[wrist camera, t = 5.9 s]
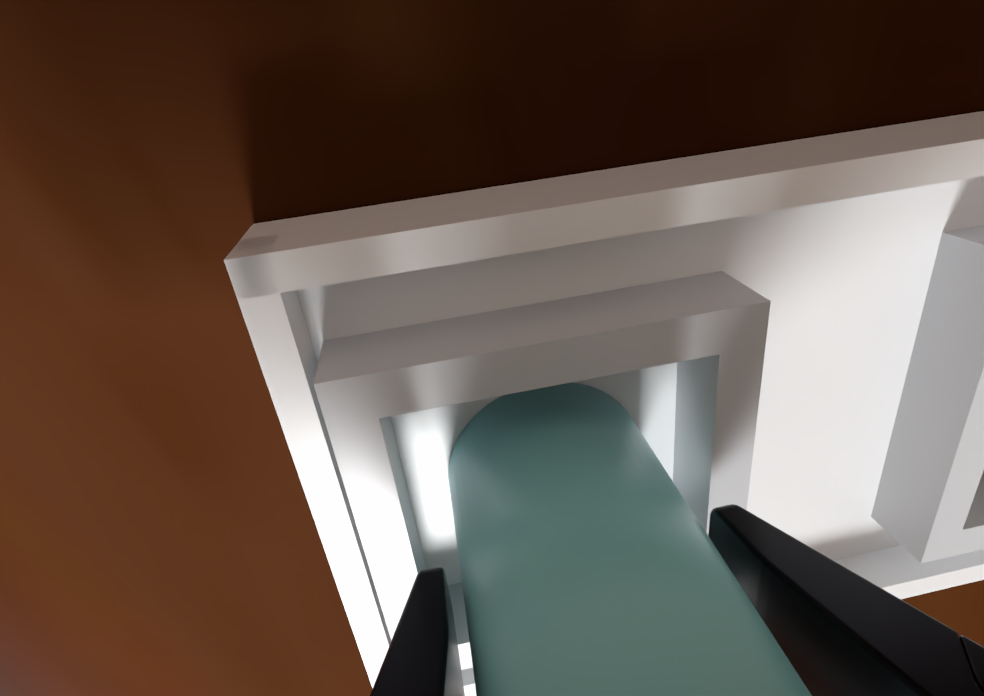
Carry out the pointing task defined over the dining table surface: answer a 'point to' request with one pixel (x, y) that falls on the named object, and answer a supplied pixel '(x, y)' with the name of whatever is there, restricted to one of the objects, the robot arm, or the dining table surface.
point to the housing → (649, 348)
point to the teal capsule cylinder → (594, 562)
